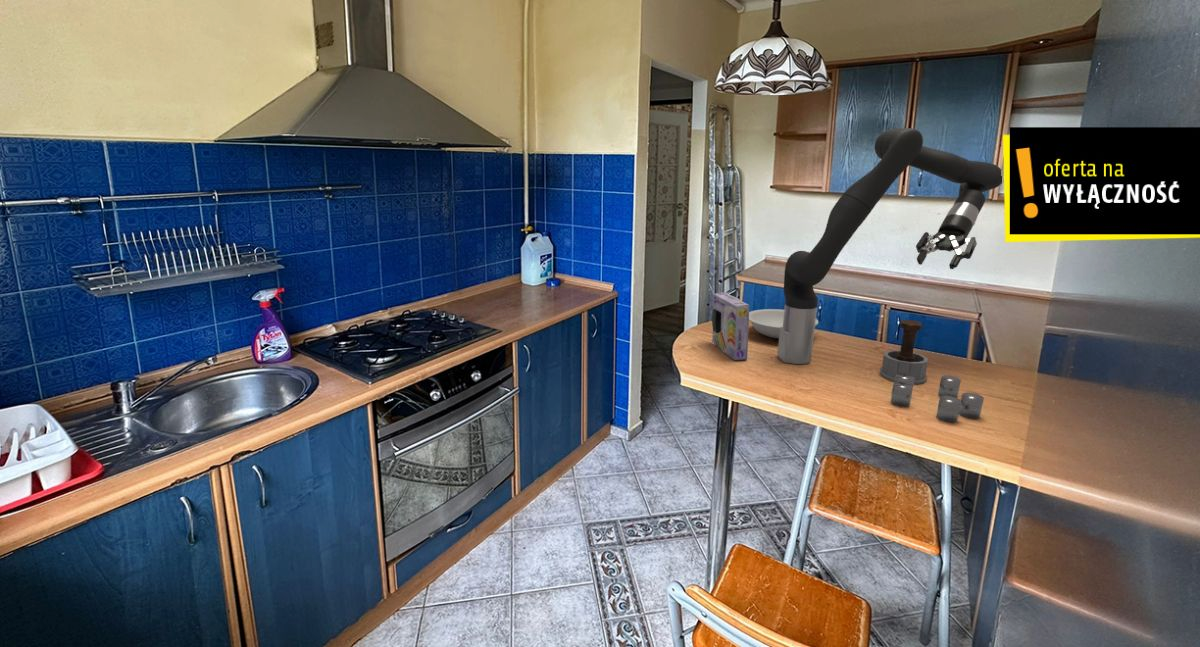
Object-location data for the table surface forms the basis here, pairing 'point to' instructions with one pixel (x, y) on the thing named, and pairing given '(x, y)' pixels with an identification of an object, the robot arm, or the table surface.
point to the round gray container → (904, 367)
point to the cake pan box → (730, 325)
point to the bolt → (908, 340)
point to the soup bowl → (768, 321)
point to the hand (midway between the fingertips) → (934, 265)
